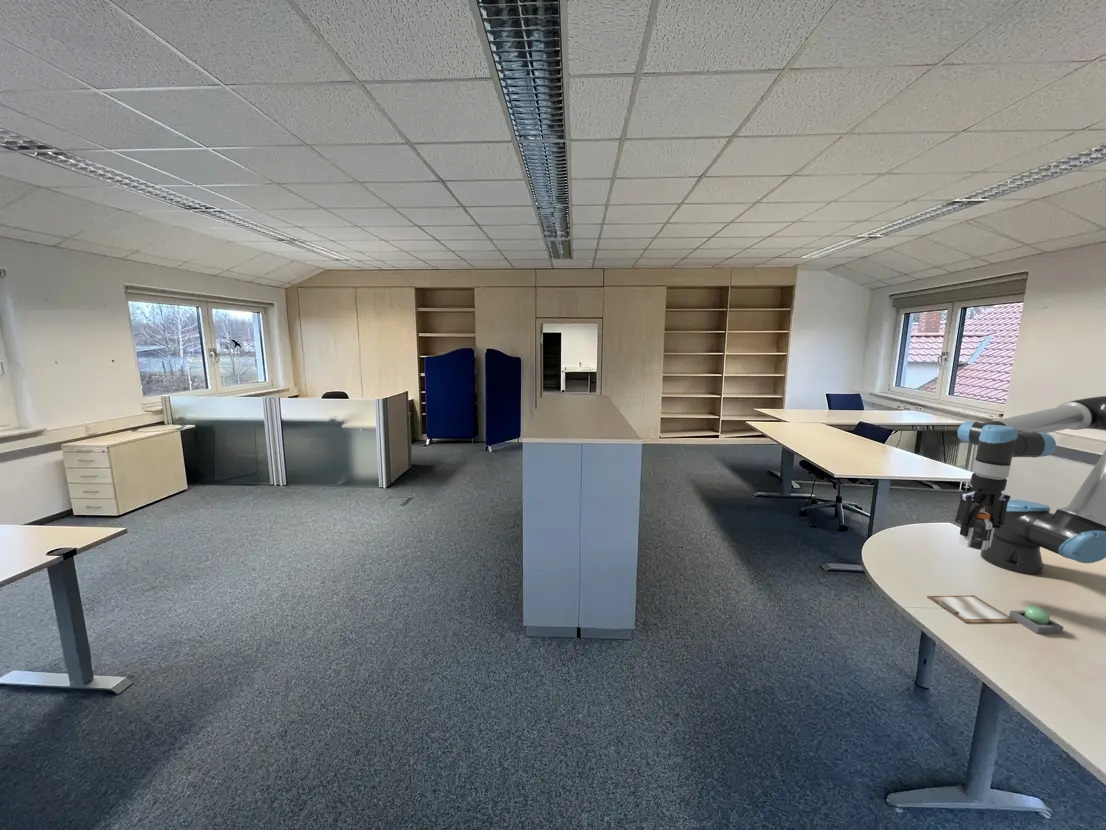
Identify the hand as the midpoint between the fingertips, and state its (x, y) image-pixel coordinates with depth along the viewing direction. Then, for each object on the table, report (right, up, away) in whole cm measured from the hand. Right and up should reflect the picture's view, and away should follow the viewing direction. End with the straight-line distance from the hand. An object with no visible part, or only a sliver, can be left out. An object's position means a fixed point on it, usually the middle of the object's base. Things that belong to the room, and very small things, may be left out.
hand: (974, 545), depth 132 cm
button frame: (+2, -18, -15) cm, 23 cm away
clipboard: (-10, -17, -8) cm, 21 cm away
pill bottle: (0, 0, 0) cm, 1 cm away
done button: (+2, -17, -15) cm, 22 cm away
